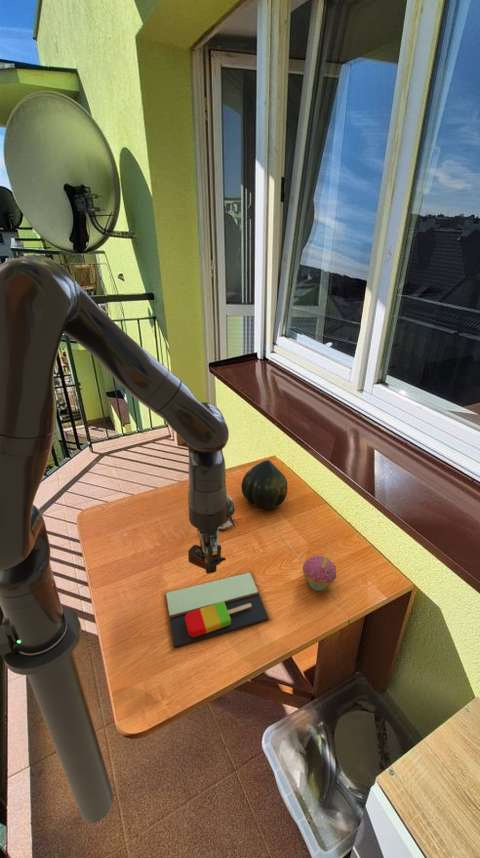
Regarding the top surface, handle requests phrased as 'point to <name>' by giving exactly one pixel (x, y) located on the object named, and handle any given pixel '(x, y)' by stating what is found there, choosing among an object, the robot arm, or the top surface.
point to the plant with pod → (228, 514)
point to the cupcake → (319, 572)
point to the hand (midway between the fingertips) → (208, 561)
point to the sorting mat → (200, 596)
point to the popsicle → (210, 618)
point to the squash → (264, 485)
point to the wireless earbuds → (199, 556)
